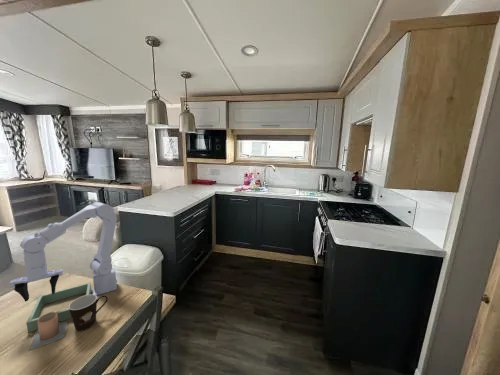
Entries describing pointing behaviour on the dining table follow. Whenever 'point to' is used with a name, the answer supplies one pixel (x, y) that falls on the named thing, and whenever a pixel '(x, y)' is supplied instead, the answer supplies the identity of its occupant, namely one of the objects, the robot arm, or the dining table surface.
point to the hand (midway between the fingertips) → (40, 296)
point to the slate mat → (37, 342)
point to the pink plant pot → (48, 325)
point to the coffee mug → (84, 311)
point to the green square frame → (56, 296)
